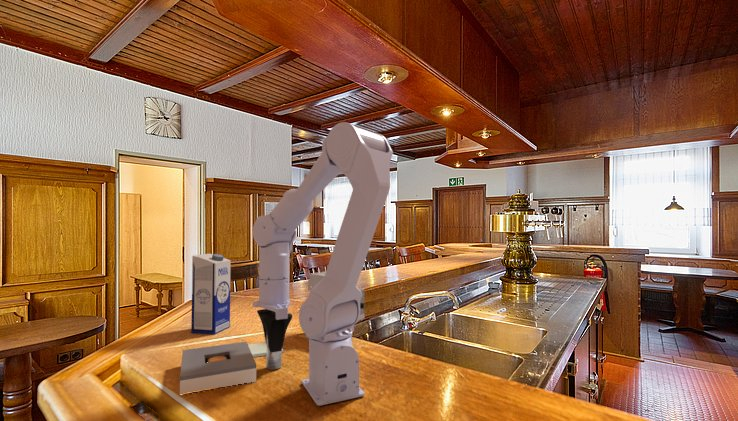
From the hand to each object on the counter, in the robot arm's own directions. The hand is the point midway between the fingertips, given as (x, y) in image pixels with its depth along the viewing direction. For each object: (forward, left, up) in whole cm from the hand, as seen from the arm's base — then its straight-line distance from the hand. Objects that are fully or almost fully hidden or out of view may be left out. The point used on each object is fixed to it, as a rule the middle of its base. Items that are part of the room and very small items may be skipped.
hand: (274, 348), depth 71 cm
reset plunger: (+2, +10, -2) cm, 10 cm away
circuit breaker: (+15, -19, -4) cm, 25 cm away
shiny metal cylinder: (0, 0, -3) cm, 3 cm away
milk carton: (+33, +10, -4) cm, 35 cm away
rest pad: (+11, 0, -4) cm, 12 cm away
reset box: (+2, +10, -4) cm, 11 cm away
